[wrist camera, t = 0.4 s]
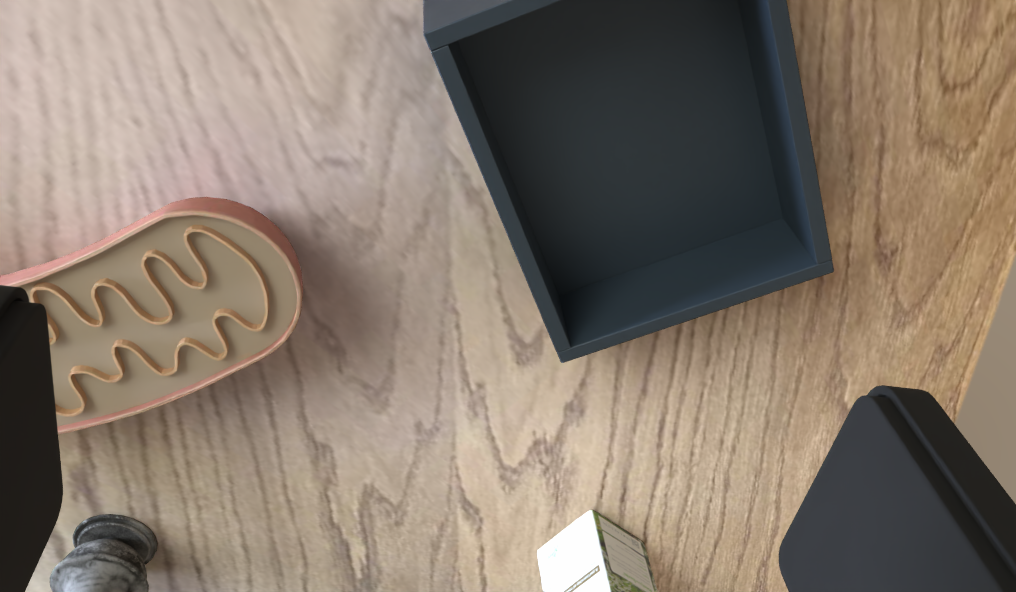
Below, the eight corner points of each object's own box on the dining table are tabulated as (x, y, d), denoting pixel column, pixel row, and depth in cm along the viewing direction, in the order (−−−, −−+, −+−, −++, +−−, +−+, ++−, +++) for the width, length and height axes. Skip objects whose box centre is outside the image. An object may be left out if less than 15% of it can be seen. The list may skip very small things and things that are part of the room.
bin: (422, -3, 41) (423, 34, 36) (727, -124, 39) (768, -102, 34) (548, 304, 51) (561, 364, 46) (795, 219, 49) (834, 272, 44)
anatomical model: (262, 140, 44) (246, 185, 40) (345, 295, 49) (338, 348, 45) (-134, 283, 47) (-188, 339, 42) (-14, 415, 52) (-51, 476, 48)
